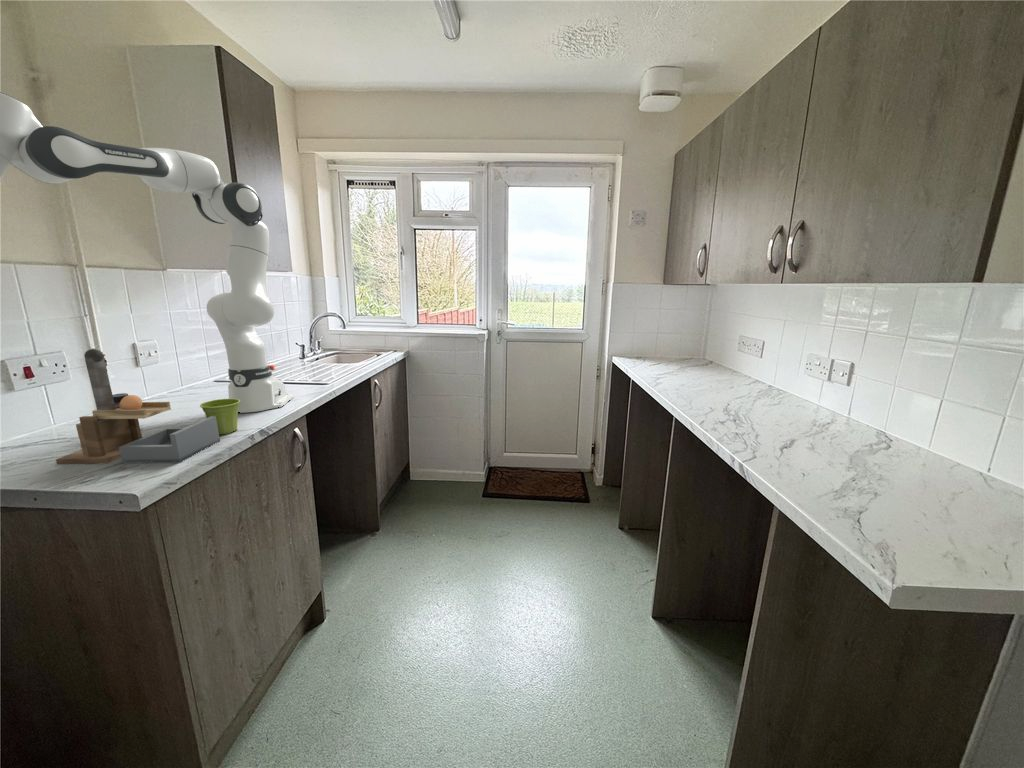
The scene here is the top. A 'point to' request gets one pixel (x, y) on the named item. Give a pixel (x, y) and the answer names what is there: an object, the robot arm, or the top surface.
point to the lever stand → (102, 440)
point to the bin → (171, 443)
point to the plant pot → (223, 413)
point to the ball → (131, 402)
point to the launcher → (105, 396)
